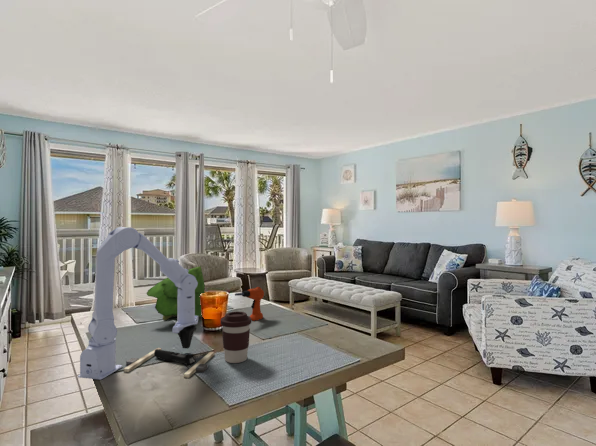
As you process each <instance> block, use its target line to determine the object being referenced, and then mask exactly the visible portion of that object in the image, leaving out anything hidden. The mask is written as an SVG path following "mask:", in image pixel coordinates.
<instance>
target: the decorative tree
mask: <svg viewBox="0 0 596 446" xmlns="http://www.w3.org/2000/svg"><path fill="white" fill-rule="evenodd" d="M188 270H189V271H188V274H191V275H193V276H195V278H196V280H197V282H198V285H197V287H196V289H195V316H198V319H199V318H200V317H202V315H201V305H200V297H199V296H200V294H201V293H205V294H206V292H205V291H206V290H205V279H204V275H203V270H202V267H201V265H200V266H197V267H193V268H189V269H188ZM179 289H180V288H179ZM181 290H182V289H181ZM145 294H146V295H147V296H148V297H152V298H155V299H156V302H155V306H154V308H155V311H157V313H158V314H160V315H161V316H162V320H163V321H167V320H169V319H170V318H175V317H177V296H178V287H176V286H175V283H173V282H172V281H171V280H170V279H169V278H168V277H165V278H164V279H163V280H161V281H158V282H156V284H155V285H153V286H152V287H150V288H149V289H148V290H147V292H146V293H145Z"/></svg>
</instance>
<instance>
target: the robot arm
mask: <svg viewBox="0 0 596 446" xmlns="http://www.w3.org/2000/svg"><path fill="white" fill-rule="evenodd" d="M132 248H133V249H137V250H141V251H142V252H143V253H144V254H145V255H147V256H148V257H149V258H151V259H152V260H153V261H155V263H157V264H158V265H159V271H160V272H161V274H163V275H164V276H166V278H169V279H170V280H171V281H172V282H173V283H175V286H176V287H178V296H177V316H176V317H177V318H176V319H177V321H176V322H175V323H174V325H173V326H172V334H177V335H178V337H179V341H180V342H181V346H182V347H181V348H182V349H190V347H191V345H192V340H193V336H194V334H195V331H196V329H197V324H198V323H199V318H198V316H195V289H196V287H197V285H198V282H197V280H196V278H195V276H193V275H191V274H188V271H189V269H188V268H185V267H183V266H182V265H181V264H180V260H178V259H177V258H173V257H169V258H168V257H167V256H166V255H165V254H164V253H162V251H161V250H160V249H159V248H157V246H156V245H154V243H152V241H150V239H148V238H147V237H146V236H145V235H143V234H142V233H140V232H138V230H137V229H136V228H133V227H131V226H130V227H129V226H128V227H126V226H118V227H116V228H114V229H113V230H111V231H110V232H109V233H108V234H107V235H106V238H105V239H104V240H103V242H102V243H101V244H100V246H98V248H97V250H96V258H95V259H96V260H95V285H94V305H93V306H94V310H93V312H92V316H91V320H90V322H89V323H88V327H87V331H88V333H89V335H90V336H91V337H90V339H89V340H88V345H87V346H86V348H85V349H84V350H82V352H80V355H79V374H78V375H77V378H80V379H81V378H82V379H89V380H91V379H92V380H99V381H100V380H103V379H105V378H107V377H108V376H110V375H111V374H113V373H114V372H116V371H118V370H120V369H122V368H123V365H122V364H116V363H117V351H116V349H117V344H116V343H117V338H116V337H117V335H118V330H117V329H118V328H117V326H116V325H115V316H114V312H113V311H114V309H113V308H114V285H115V284H114V283H115V282H114V281H115V259H116V258H117V257H118V256H120V255H121V254H122V253H124V252H125V251H127V250H131V249H132ZM179 288H180V289H179ZM181 289H182V290H181Z"/></svg>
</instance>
